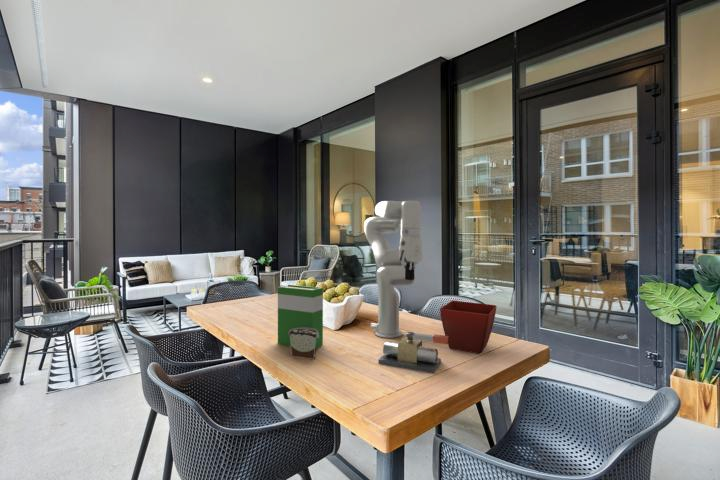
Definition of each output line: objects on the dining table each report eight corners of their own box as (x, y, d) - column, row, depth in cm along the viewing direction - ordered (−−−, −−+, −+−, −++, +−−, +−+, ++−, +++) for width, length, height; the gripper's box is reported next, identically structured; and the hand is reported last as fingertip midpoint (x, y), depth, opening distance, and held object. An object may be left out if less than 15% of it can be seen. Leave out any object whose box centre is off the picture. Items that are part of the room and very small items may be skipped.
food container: (324, 354, 139) (324, 328, 138) (317, 359, 133) (317, 333, 132) (296, 350, 143) (296, 325, 142) (288, 355, 137) (288, 329, 136)
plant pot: (488, 358, 135) (489, 314, 135) (438, 350, 145) (439, 308, 144) (496, 344, 152) (497, 305, 151) (451, 337, 161) (451, 300, 161)
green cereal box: (277, 343, 152) (277, 286, 151) (288, 338, 158) (288, 284, 158) (312, 350, 144) (312, 290, 143) (322, 344, 150) (322, 287, 150)
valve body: (378, 363, 129) (378, 339, 129) (389, 354, 139) (389, 331, 139) (433, 373, 121) (433, 347, 121) (441, 362, 131) (441, 338, 130)
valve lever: (405, 339, 129) (405, 333, 129) (407, 337, 132) (407, 331, 132) (447, 344, 123) (447, 338, 123) (448, 342, 126) (448, 335, 126)
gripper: (408, 233, 132) (407, 282, 133) (428, 232, 143) (427, 278, 144) (391, 232, 137) (390, 280, 137) (412, 232, 148) (411, 276, 149)
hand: (409, 279), depth 141 cm, fingers closed
